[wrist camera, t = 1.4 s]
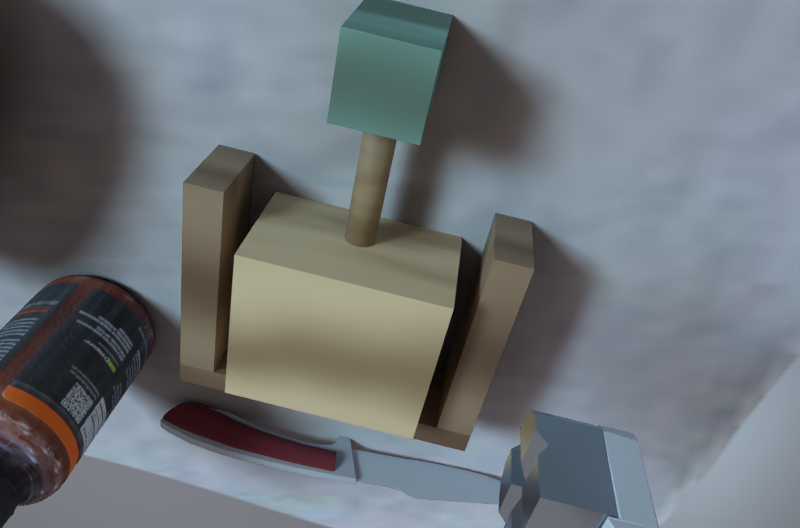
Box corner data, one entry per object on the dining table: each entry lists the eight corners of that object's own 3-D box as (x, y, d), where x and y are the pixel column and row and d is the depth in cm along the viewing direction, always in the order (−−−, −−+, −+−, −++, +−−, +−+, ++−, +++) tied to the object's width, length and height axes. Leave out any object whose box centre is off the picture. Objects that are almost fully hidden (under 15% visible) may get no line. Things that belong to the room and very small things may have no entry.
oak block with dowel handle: (298, -23, 23) (251, 9, 19) (523, 32, 23) (526, 77, 19) (262, 318, 31) (224, 392, 27) (425, 359, 31) (412, 439, 27)
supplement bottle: (26, 318, 34) (-163, 506, 24) (70, 246, 31) (-125, 428, 21) (128, 382, 35) (-12, 583, 26) (180, 319, 32) (44, 520, 23)
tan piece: (218, 144, 27) (183, 182, 24) (531, 222, 27) (534, 269, 24) (209, 331, 32) (179, 380, 29) (468, 395, 32) (464, 450, 29)
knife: (176, 406, 36) (151, 448, 34) (175, 389, 35) (150, 431, 33) (543, 485, 35) (546, 534, 33) (550, 470, 35) (553, 519, 32)
